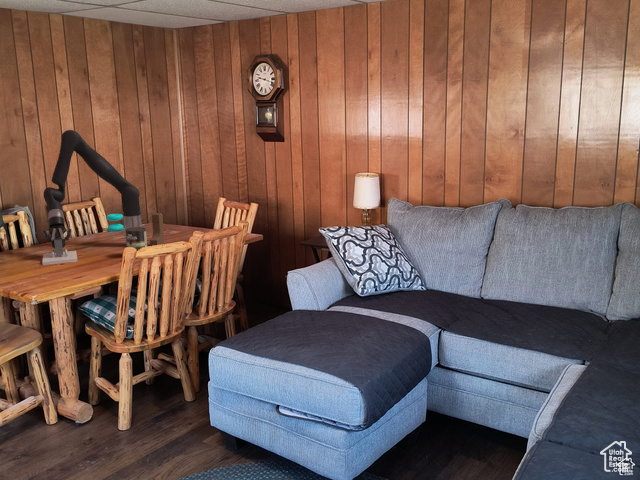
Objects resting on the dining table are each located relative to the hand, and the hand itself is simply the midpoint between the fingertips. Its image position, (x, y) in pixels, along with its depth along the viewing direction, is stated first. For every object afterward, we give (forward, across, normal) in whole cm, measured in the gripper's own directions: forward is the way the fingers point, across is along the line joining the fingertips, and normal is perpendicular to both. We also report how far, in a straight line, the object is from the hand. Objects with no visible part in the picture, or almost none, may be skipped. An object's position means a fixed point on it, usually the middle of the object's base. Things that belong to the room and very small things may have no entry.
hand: (58, 247), depth 305 cm
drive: (+1, 0, +4) cm, 5 cm away
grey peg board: (+3, 0, +6) cm, 7 cm away
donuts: (-46, +33, +56) cm, 79 cm away
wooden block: (-3, +50, +12) cm, 52 cm away
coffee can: (+10, +38, 0) cm, 39 cm away
